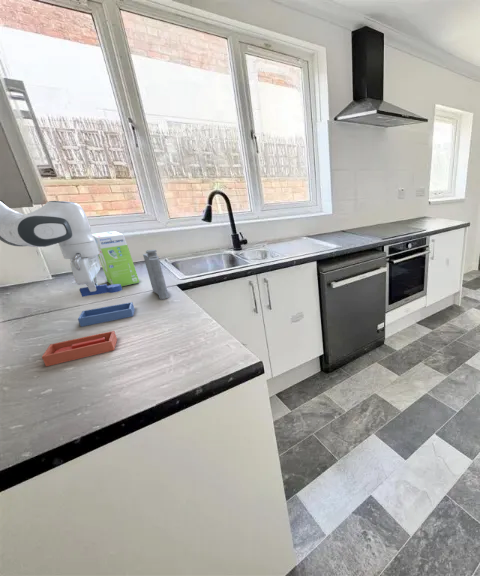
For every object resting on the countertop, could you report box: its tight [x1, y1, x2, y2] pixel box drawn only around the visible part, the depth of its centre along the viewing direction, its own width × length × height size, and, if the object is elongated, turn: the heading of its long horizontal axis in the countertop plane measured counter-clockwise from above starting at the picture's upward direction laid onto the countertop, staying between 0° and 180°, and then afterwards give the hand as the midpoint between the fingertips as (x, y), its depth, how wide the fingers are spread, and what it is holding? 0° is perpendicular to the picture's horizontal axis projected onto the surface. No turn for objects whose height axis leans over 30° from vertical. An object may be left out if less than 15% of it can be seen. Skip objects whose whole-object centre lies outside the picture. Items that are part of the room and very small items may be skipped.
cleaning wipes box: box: [91, 230, 140, 288], centre depth 148 cm, size 18×10×24 cm, turn 49°
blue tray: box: [77, 301, 135, 328], centre depth 111 cm, size 14×8×4 cm, turn 125°
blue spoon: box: [78, 283, 123, 297], centre depth 108 cm, size 11×4×3 cm, turn 124°
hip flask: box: [142, 249, 170, 300], centre depth 131 cm, size 16×4×20 cm, turn 45°
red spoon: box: [54, 338, 106, 353], centre depth 89 cm, size 11×4×3 cm, turn 124°
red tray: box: [41, 330, 118, 367], centre depth 89 cm, size 14×8×4 cm, turn 125°
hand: (94, 289), depth 107 cm, fingers closed on blue spoon
